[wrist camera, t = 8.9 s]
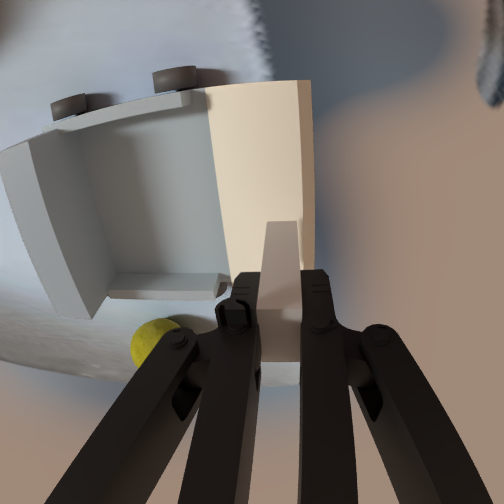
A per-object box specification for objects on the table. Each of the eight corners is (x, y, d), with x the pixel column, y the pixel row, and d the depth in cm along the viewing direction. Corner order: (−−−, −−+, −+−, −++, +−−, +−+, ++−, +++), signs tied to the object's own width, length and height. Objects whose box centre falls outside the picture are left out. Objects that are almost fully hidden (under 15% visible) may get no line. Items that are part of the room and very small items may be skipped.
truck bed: (106, 279, 33) (68, 334, 25) (57, 103, 23) (-11, 125, 15) (238, 278, 31) (223, 347, 23) (211, 64, 21) (173, 59, 13)
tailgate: (232, 286, 27) (302, 334, 21) (205, 87, 19) (296, 80, 13) (243, 280, 27) (314, 325, 22) (219, 85, 19) (312, 79, 14)
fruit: (207, 344, 36) (185, 432, 26) (159, 350, 38) (130, 429, 28) (182, 302, 33) (147, 393, 23) (132, 310, 35) (91, 392, 25)
